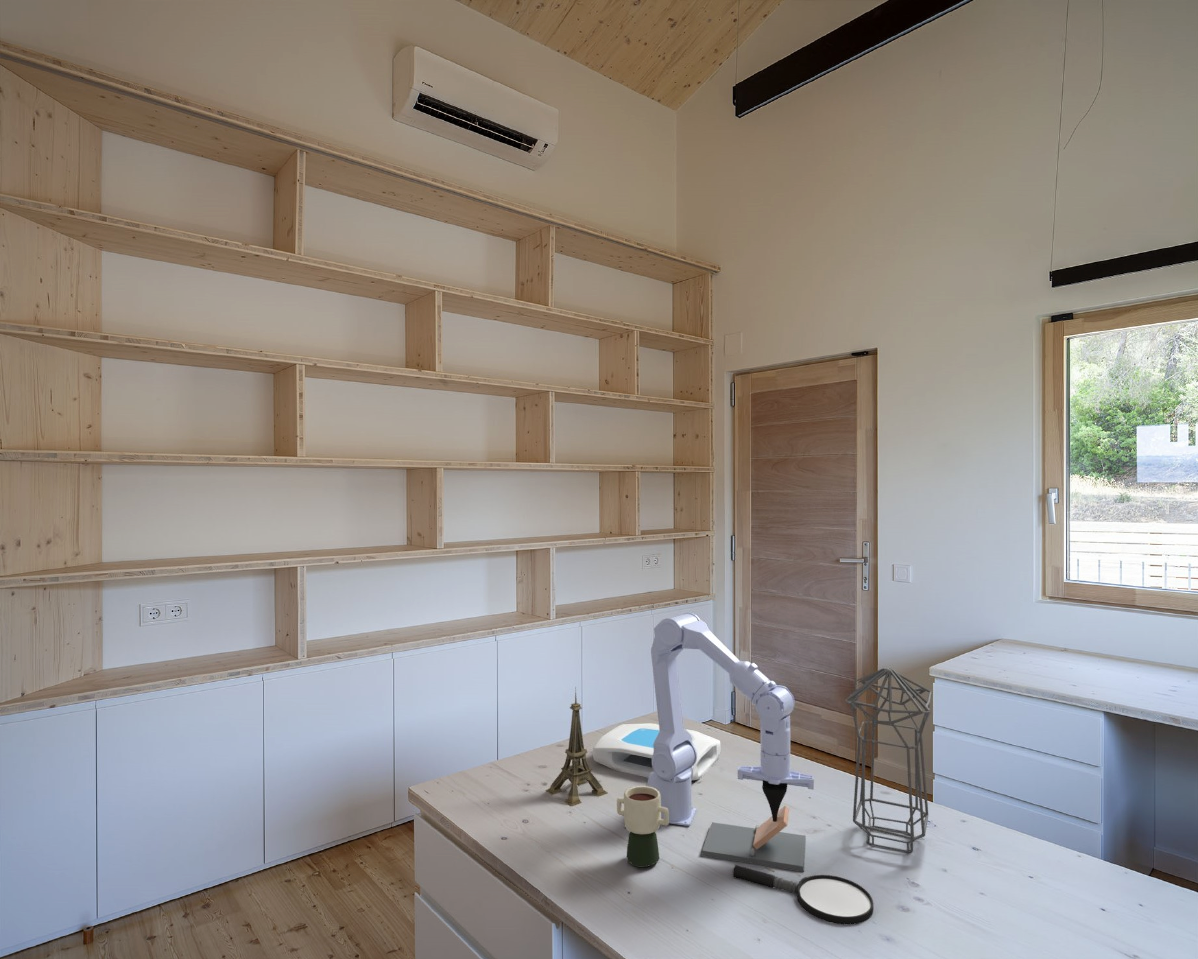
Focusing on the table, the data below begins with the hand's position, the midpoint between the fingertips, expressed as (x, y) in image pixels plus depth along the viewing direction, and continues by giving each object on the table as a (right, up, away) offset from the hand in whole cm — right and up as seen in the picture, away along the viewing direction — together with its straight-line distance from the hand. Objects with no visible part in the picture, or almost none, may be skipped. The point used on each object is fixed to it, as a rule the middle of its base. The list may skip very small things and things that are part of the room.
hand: (775, 819), depth 134 cm
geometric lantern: (+24, -6, +3) cm, 25 cm away
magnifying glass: (+1, -7, -14) cm, 16 cm away
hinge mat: (-4, -6, +1) cm, 7 cm away
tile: (-1, -1, 0) cm, 2 cm away
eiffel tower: (-40, -8, +28) cm, 49 cm away
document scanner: (-19, -8, +46) cm, 50 cm away
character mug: (-26, -7, -3) cm, 27 cm away
